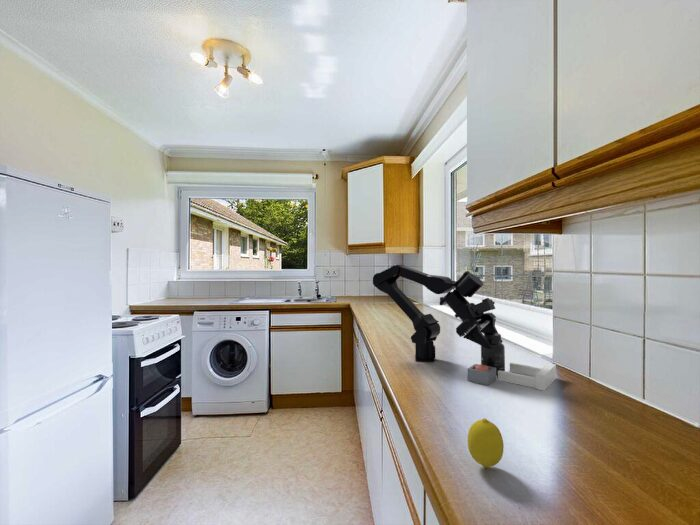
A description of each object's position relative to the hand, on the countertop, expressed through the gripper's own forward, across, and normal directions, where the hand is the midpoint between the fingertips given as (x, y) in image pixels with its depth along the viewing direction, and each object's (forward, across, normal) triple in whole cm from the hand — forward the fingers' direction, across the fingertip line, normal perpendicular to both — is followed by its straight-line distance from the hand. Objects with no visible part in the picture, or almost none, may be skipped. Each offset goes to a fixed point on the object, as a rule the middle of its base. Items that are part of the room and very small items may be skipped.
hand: (496, 345), depth 104 cm
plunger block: (+5, -9, +7) cm, 12 cm away
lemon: (+18, -50, -5) cm, 54 cm away
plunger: (+5, -9, +6) cm, 12 cm away
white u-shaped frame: (+12, 0, 0) cm, 12 cm away
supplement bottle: (+6, 0, +7) cm, 9 cm away
